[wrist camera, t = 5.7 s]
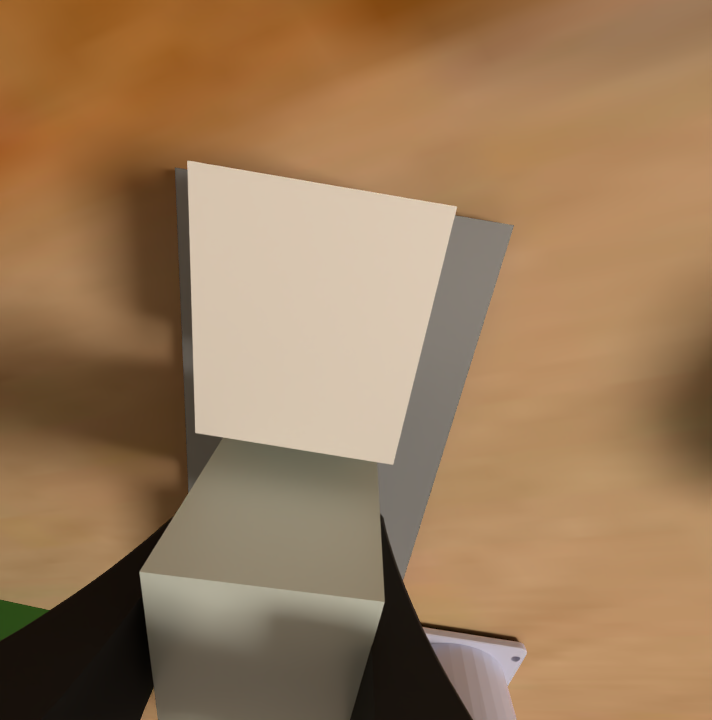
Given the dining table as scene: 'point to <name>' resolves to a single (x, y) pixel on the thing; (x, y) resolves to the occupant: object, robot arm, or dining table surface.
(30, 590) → the dining table surface
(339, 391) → the plate
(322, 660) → the block
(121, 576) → the robot arm
